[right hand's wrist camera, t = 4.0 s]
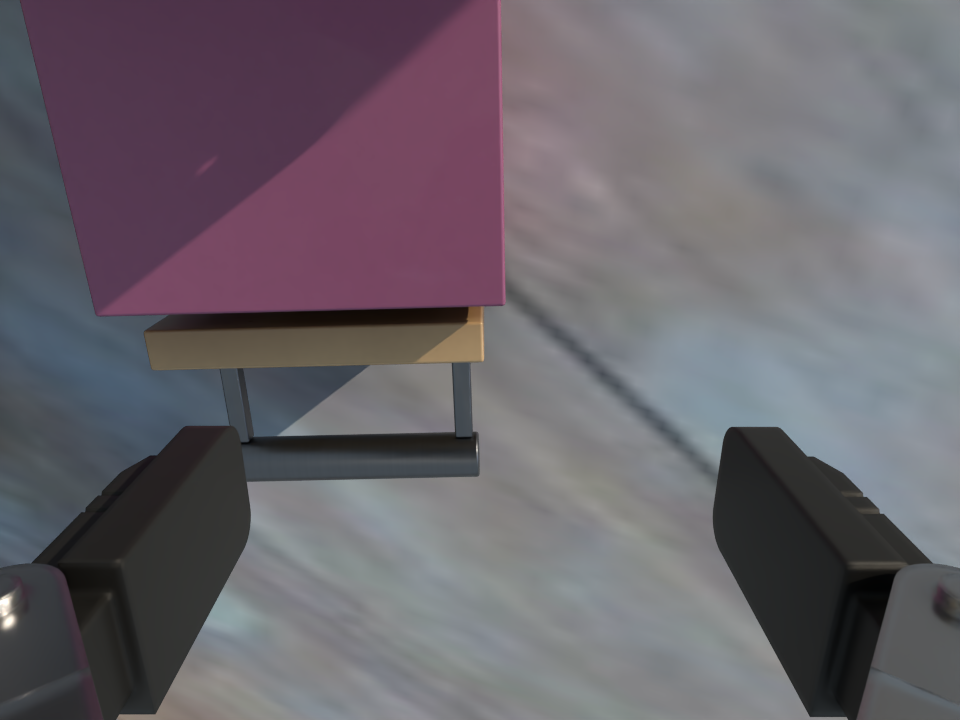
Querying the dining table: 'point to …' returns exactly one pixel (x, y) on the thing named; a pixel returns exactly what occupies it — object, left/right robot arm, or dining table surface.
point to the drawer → (333, 344)
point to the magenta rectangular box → (278, 151)
